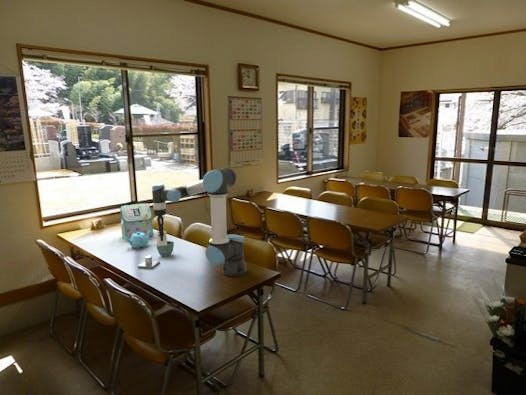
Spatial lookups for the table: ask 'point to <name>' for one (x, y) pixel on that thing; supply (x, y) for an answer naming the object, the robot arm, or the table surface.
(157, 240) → the knob
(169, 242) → the flower pot
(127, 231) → the lunch bag
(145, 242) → the teapot
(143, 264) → the hub
